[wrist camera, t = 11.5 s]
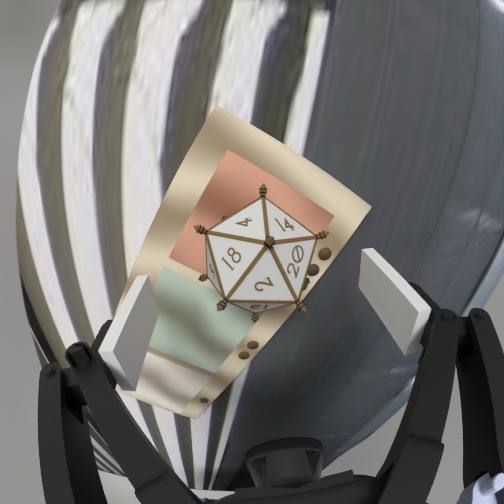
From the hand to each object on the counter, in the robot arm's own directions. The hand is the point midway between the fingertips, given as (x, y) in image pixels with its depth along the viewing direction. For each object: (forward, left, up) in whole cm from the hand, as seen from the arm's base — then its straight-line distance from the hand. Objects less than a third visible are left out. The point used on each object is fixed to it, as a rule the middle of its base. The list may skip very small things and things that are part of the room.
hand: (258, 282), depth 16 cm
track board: (-9, +7, -8) cm, 13 cm away
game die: (0, 0, -7) cm, 7 cm away
